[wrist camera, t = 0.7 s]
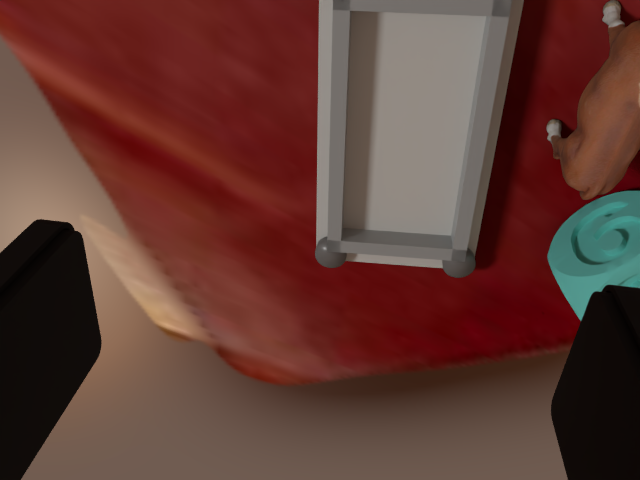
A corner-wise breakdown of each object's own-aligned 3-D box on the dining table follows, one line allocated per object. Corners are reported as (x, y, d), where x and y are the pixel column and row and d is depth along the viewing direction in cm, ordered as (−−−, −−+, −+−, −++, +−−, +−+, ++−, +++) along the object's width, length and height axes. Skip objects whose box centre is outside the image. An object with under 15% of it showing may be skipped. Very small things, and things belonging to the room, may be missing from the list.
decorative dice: (591, 298, 47) (622, 373, 40) (536, 231, 44) (560, 299, 38) (694, 247, 44) (746, 319, 37) (641, 170, 41) (688, 233, 34)
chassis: (321, -59, 35) (316, -52, 33) (530, -53, 34) (539, -45, 32) (317, 253, 48) (313, 274, 45) (470, 265, 47) (474, 286, 44)
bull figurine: (711, -39, 34) (790, -9, 27) (581, 163, 41) (616, 226, 34) (641, -67, 33) (702, -44, 26) (522, 142, 41) (546, 202, 34)
